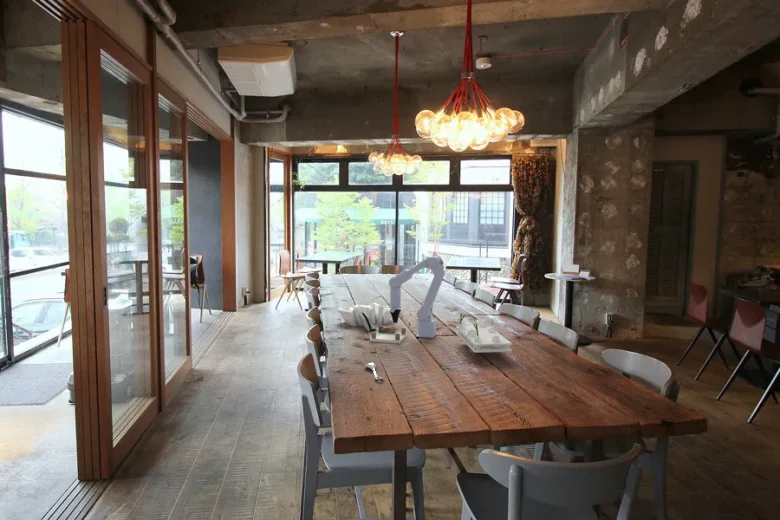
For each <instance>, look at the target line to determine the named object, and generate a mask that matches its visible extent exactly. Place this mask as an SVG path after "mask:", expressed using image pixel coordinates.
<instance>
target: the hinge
mask: <svg viewBox="0 0 780 520" xmlns="http://www.w3.org/2000/svg"><path fill="white" fill-rule="evenodd" d="M359 317H360V320H361V322H362V325H363V328H364V329H365V330H366V331H367V332H370V331H371V330H375V331H377V327H376V326H375V325H373V324H372V322H371V320H370V318H369V316H368V315H367V313H366V312H362V313H360V314H359Z"/></svg>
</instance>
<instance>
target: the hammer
mask: <svg viewBox="0 0 780 520" xmlns="http://www.w3.org/2000/svg"><path fill="white" fill-rule="evenodd" d="M396 331H397V327H395V326H394V327H393V326H385V325H378V331H377V332H385V333H395V332H396Z"/></svg>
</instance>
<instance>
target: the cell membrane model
mask: <svg viewBox="0 0 780 520" xmlns="http://www.w3.org/2000/svg"><path fill="white" fill-rule="evenodd" d="M459 316H460V317H459V319H455V321H456V322H457V323H458V325H456V329H457V331H456V332H455V334H456V335H457V336H458V338H460V339H461V340H460V341H461V342H463V343H464V344H465V345H466V346H468V347H469V351H470V352H472V353H473V355H474V356H475V357H477V355H475V354H476V353H477V354H478V353H481V354H482V353H511V352H513V350H512V349H511V346H512V345H513V343H512V342H511V341H510V340H509V339H507V338H506V337H505V336H503V335H502V334H501V333H499V332H498V329H495V327H494V326H493V324H494V322H491V325H488V322H487V320H486V319H485V317H484V316H483V318H482V319H477V320H476V322H475V323H473V325H466V324H465V322H464V321H463V320H464V317H465V315H463V313H460V315H459ZM491 321H493V318H492V319H491Z"/></svg>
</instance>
